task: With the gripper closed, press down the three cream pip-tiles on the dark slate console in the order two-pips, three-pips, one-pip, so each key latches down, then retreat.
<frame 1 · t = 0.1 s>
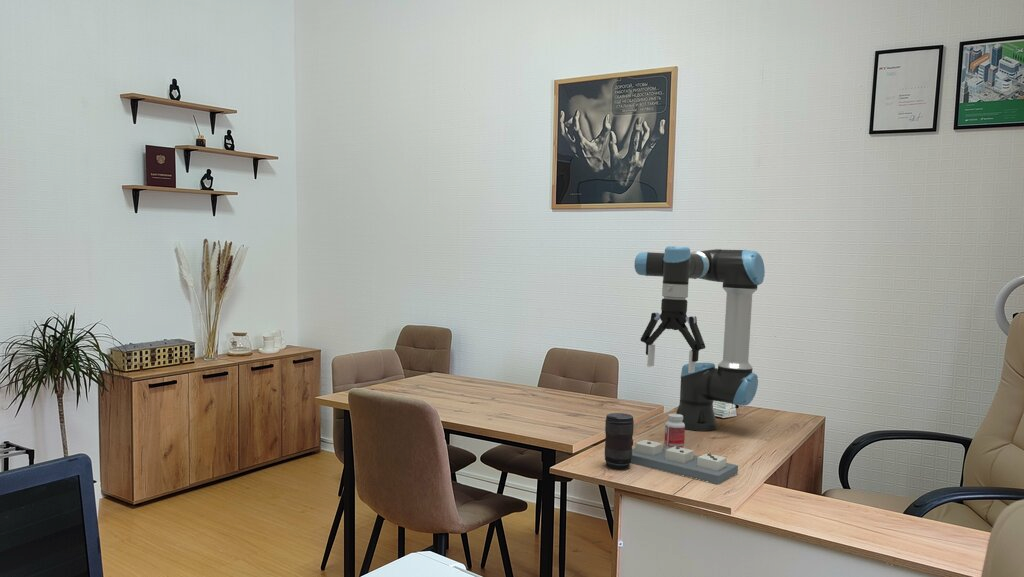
hand: (670, 369, 216), 28 cm above the table, fingers open, 13 cm apart
tile 2: (679, 455, 212), point 3 cm above the table, slide at 0.0 cm
camera lens: (617, 467, 210), on the table
tile 3: (711, 462, 206), point 3 cm above the table, slide at 0.0 cm
console: (678, 467, 212), on the table
pill bottle: (673, 449, 232), on the table
tile 1: (648, 448, 218), point 3 cm above the table, slide at 0.0 cm
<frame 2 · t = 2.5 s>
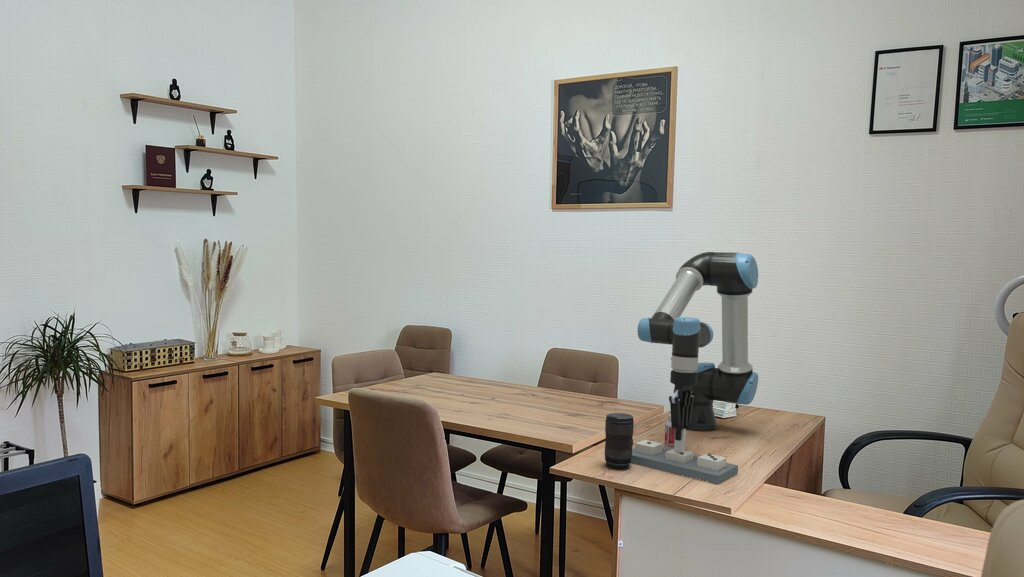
hand: (679, 450, 212), 5 cm above the table, fingers closed
tile 2: (679, 457, 212), point 3 cm above the table, slide at 0.6 cm, touching gripper
everything else where it was.
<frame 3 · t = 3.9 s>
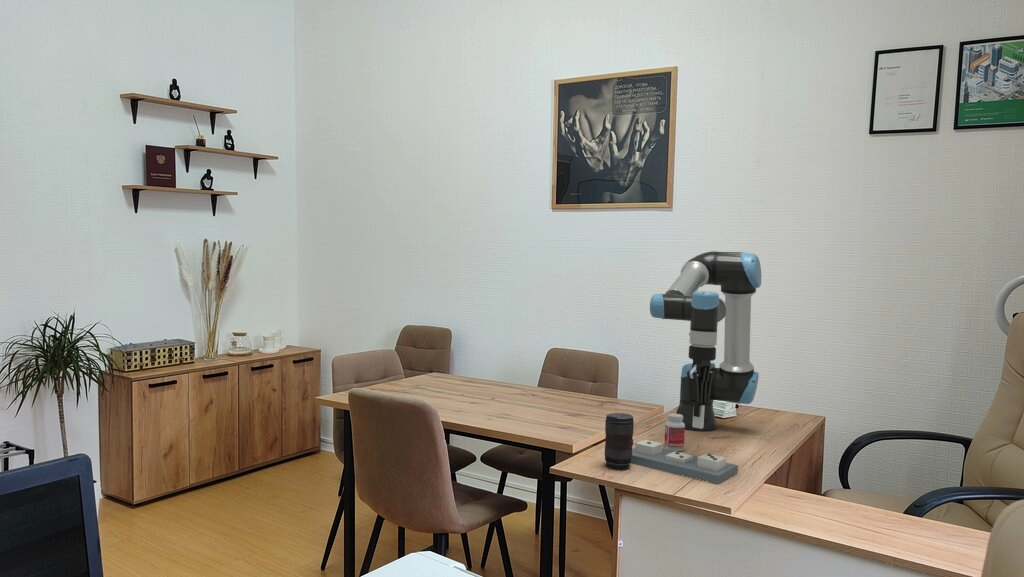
hand: (697, 427, 208), 13 cm above the table, fingers closed
tile 2: (679, 460, 212), point 2 cm above the table, slide at 1.5 cm
everything else where it was.
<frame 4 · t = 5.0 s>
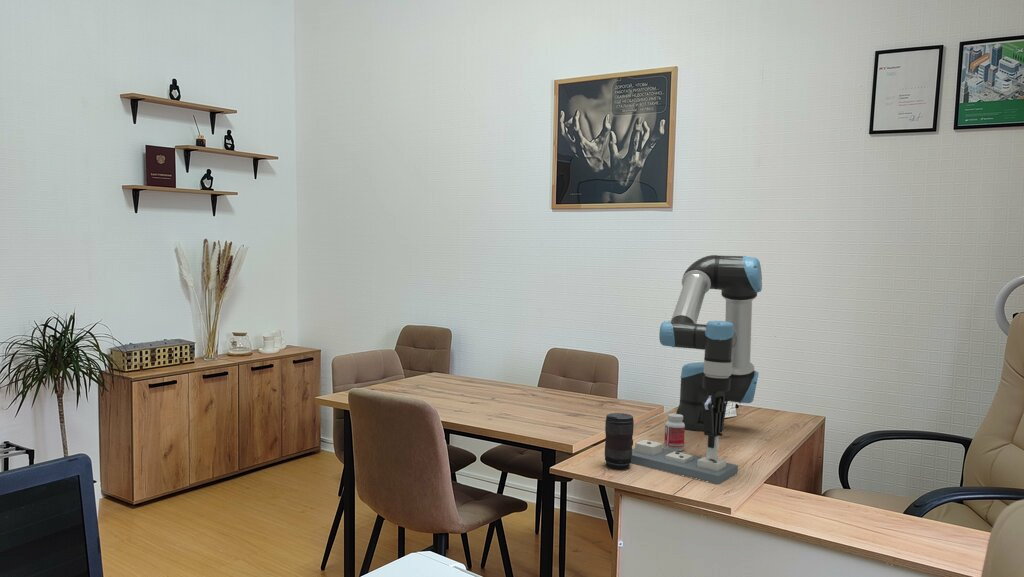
hand: (711, 458, 205), 5 cm above the table, fingers closed
tile 3: (711, 465, 206), point 3 cm above the table, slide at 0.8 cm, touching gripper
everything else where it was.
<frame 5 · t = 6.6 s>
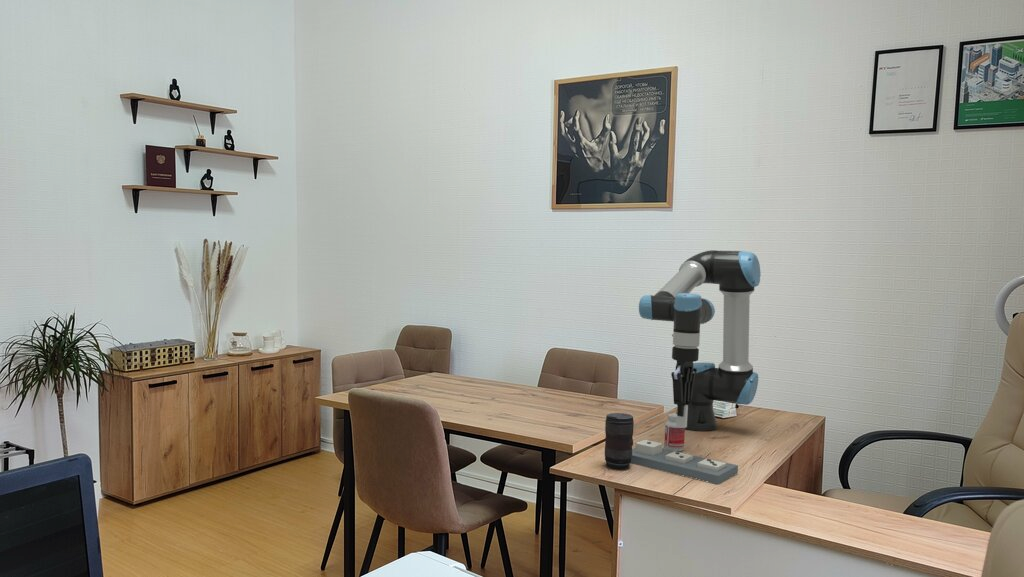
hand: (681, 426, 212), 12 cm above the table, fingers closed
tile 3: (711, 468, 206), point 2 cm above the table, slide at 1.5 cm
everything else where it was.
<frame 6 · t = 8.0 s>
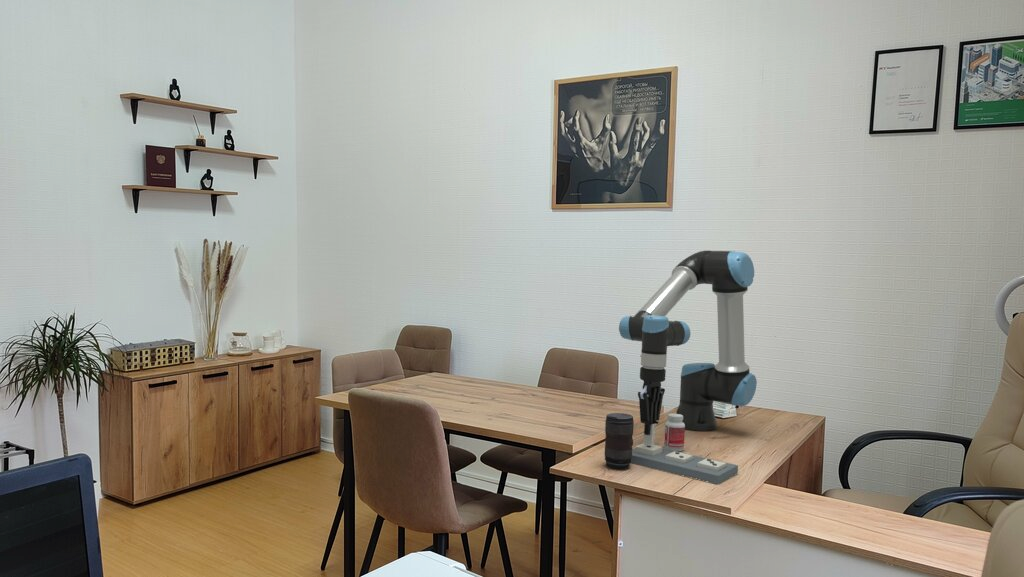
hand: (648, 444, 218), 5 cm above the table, fingers closed
tile 1: (648, 451, 218), point 2 cm above the table, slide at 1.0 cm, touching gripper
everything else where it was.
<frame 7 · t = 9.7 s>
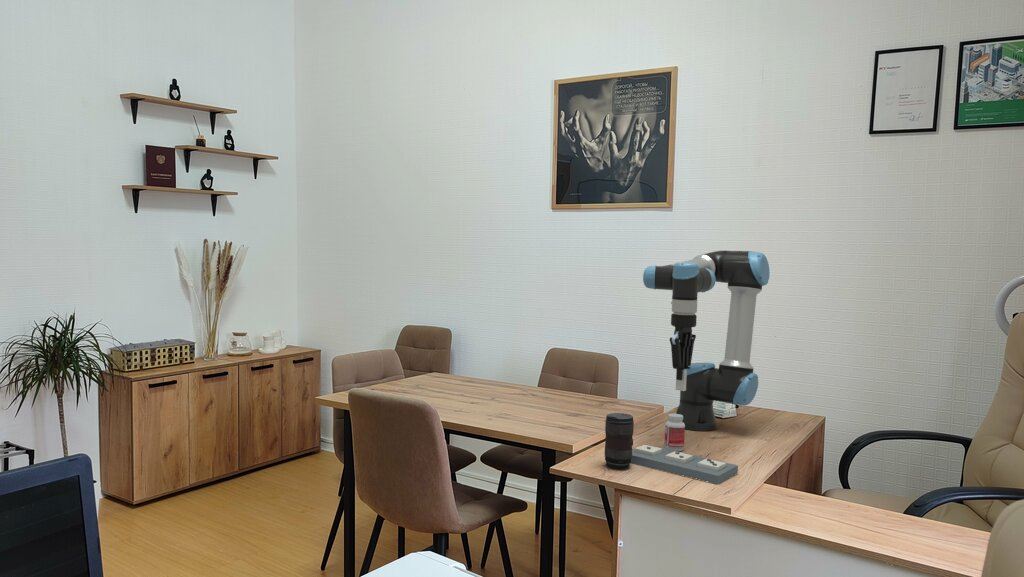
hand: (680, 389, 222), 21 cm above the table, fingers closed
tile 1: (648, 453, 218), point 2 cm above the table, slide at 1.6 cm
everything else where it was.
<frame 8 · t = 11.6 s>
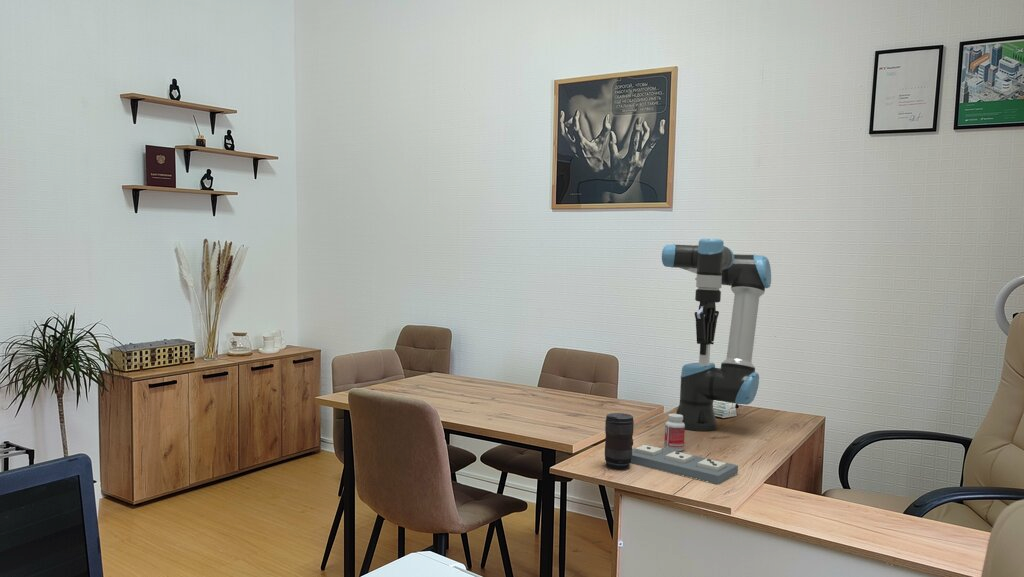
hand: (704, 365, 224), 28 cm above the table, fingers closed
nothing on the table moved.
at the end: tile 2 slide at 1.5 cm; tile 3 slide at 1.5 cm; tile 1 slide at 1.6 cm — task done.
